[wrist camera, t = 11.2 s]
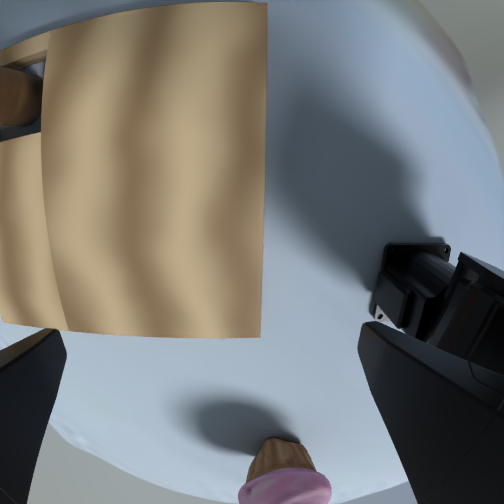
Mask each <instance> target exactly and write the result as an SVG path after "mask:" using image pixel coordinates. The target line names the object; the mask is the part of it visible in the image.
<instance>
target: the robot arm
mask: <svg viewBox="0 0 504 504" xmlns="http://www.w3.org/2000/svg"><path fill="white" fill-rule="evenodd" d="M391 248H393V250H392V252H390V249H391ZM445 248H446V250H445ZM444 250H445V252H444ZM450 251H451V248H450V246H449V245H448V244H445V243H389V244H387V245H386V246H385V249H384V255H383V262H382V268H381V271H380V273H379V277H378V283H377V289H376V294H375V299H374V302H375V307H374V312H373V318H374V319H375V321H371V322H365V323H364V324H363V325H362V327H361V332H360V337H359V341H358V354H359V357H360V360H361V363H362V366H363V369H364V372H365V376H366V379H367V382H368V385H369V388H370V391H371V394H372V396H373V398H374V401H375V403H376V405H377V407H378V410H379V412H380V414H381V416H382V418H383V421H384V423H385V425H386V428H387V430H388V432H389V434H390V437H391V439H392V441H393V444H394V446H395V448H396V451H397V453H398V456H399V458H400V460H401V463H402V465H403V468H404V470H405V473H406V475H407V477H408V480H409V482H410V485H411V487H412V490H413V492H414V495H415V498H416V500H417V503H418V504H504V271H502V270H500V269H498V268H497V267H494V266H492V265H490V264H488V263H486V262H483V261H481V260H479V259H477V258H474V257H472V256H470V255H467V254H465V253H463V252H460V255H459V257H458V260H459V261H458V264H457V266H456V267H455V266H453V265H452V264H450V263H448V261H449V256H450ZM379 314H381V315H380V316H379V317H378V315H379ZM384 321H391V322H392V323H393V324H394V325H395V326H396V327H397V328H398V329H402V330H403V331H404V332H405V333H402V332H400V331H398V330H396V329H393V328H391V327H389V326H387V325H384V324H382V323H380V322H384ZM66 359H67V353H66V349H65V346H64V343H63V340H62V337H61V334H60V332H59V330H58V329H55V328H45V329H43V330H41V331H39V332H37V333H35V334H33V335H31V336H29V337H27V338H25V339H23V340H21V341H19V342H16V343H14V344H12V345H10V346H8V347H6V348H4V349H2V350H0V504H27V500H28V495H29V491H30V486H31V482H32V478H33V473H34V470H35V465H36V462H37V457H38V454H39V451H40V447H41V444H42V440H43V437H44V434H45V430H46V427H47V424H48V421H49V418H50V415H51V412H52V409H53V406H54V403H55V400H56V397H57V393H58V389H59V385H60V381H61V377H62V374H63V370H64V366H65V363H66Z"/></svg>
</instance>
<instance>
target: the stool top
mask: <svg viewBox="0 0 504 504" xmlns="http://www.w3.org/2000/svg"><path fill="white" fill-rule="evenodd" d="M44 60H46V63H45V72H44V82H43V94H42V111H41V132H39V133H35V134H30V135H26V136H22V137H18V138H14V139H10V140H6V141H3V142H0V314H1V317H2V320H3V322H4V323H11V324H17V325H24V326H31V327H39V328H55V329H58V330H64V331H74V332H85V333H96V334H109V335H124V336H143V337H169V338H258V337H260V331H261V301H262V269H263V234H264V195H265V148H266V88H267V3H257V2H201V3H185V4H174V5H164V6H156V7H148V8H142V9H135V10H130V11H124V12H119V13H114V14H109V15H105V16H100V17H96V18H92V19H88V20H84V21H81V22H77V23H73V24H70V25H67V26H63V27H60V28H57V29H54V30H51V31H48V32H45V33H43V34H40V35H37V36H34V37H32V38H29V39H27V40H24V41H22V42H19V43H17V44H14V45H12V46H10V47H8V48H5V49H3V50H1V51H0V66H2V67H6V68H10V69H13V70H18V69H21V68H23V67H26V66H29V65H32V64H35V63H38V62H41V61H44Z"/></svg>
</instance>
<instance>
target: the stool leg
mask: <svg viewBox="0 0 504 504" xmlns="http://www.w3.org/2000/svg"><path fill="white" fill-rule="evenodd" d="M43 82H44V81H43V79H41V78H40V77H38V76H35V75H31V74H28V73H24V72H21V71H17V70H13V69H10V68H6V67H2V66H0V126H28V125H30V124H32V123H33V122H34V121H35V120H36V119H37V118H38V117H39V116H40V114H41V111H42V94H43Z"/></svg>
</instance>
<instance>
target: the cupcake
mask: <svg viewBox="0 0 504 504" xmlns="http://www.w3.org/2000/svg"><path fill="white" fill-rule="evenodd" d="M331 494H332V492H331V485H330V482H329V481H328V479H327V478H326V477H325V476H324V475H323V474H321V473H319V472H317V471H316V469H315V467H314V465H313V462H312V460H311V457H310V456H309V454H308V452H307V450H306V448H305V447H304V446H303V445H301V444H298V443H293V442H288V441H284V440H281V439H278V438H270V439H267V440H266V441H265V442H264V444H263V446H262V447H261V449H260V451H259V452H258V453H257V455H256V456H255V458H254V460H253V461H252V463H251V465H250V467H249V471H248V474H247V479H246V483H245V484H244V485H243V486H242V487H241V489H240V490H239V493H238V500H239V504H328V502H329V500H330V498H331Z"/></svg>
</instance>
